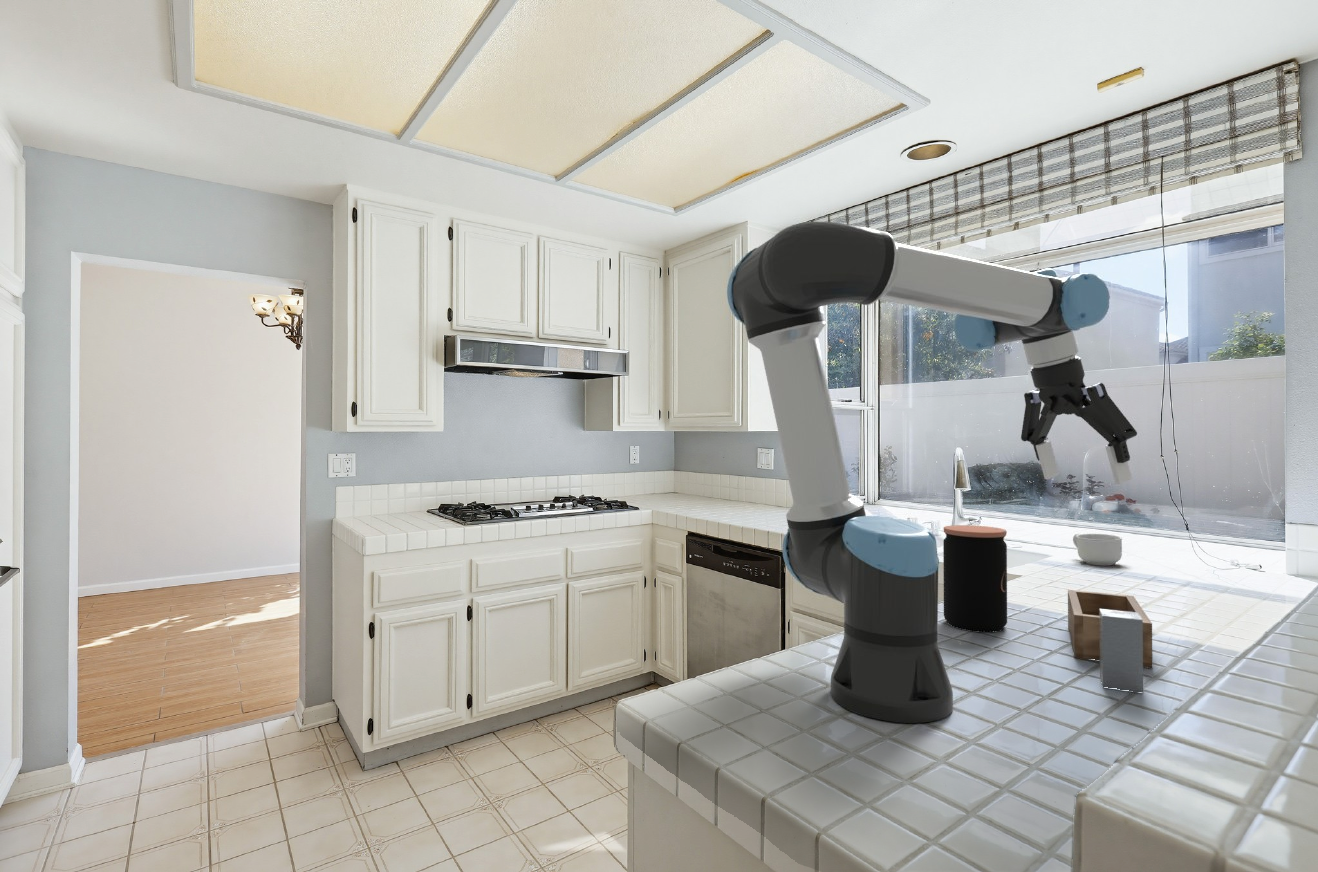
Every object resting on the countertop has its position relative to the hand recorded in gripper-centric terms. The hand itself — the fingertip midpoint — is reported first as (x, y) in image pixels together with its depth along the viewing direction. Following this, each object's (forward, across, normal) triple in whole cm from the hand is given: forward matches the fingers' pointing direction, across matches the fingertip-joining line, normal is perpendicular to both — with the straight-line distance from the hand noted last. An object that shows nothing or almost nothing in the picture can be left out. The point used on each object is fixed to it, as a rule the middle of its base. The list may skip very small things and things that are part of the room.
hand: (1085, 479), depth 112 cm
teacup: (+49, +58, -57) cm, 94 cm away
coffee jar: (+23, +13, +20) cm, 33 cm away
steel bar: (+22, -18, +22) cm, 36 cm away
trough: (+26, -3, +8) cm, 28 cm away
